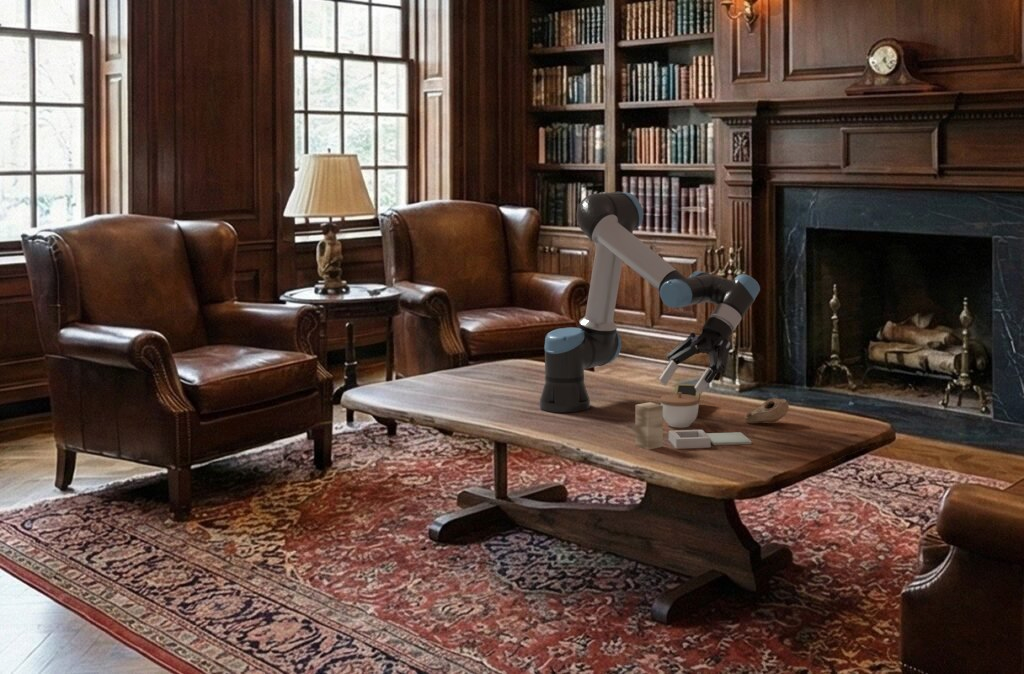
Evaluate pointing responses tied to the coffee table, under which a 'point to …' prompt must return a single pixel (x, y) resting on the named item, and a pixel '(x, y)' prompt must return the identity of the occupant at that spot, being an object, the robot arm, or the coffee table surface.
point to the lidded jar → (679, 409)
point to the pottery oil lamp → (768, 411)
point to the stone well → (689, 439)
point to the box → (687, 390)
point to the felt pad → (728, 438)
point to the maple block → (648, 425)
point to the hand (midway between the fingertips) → (679, 386)
